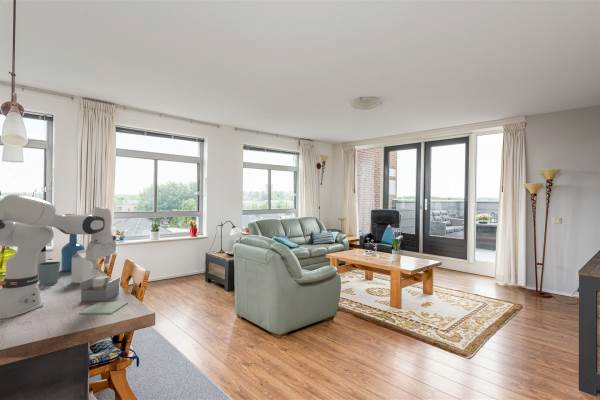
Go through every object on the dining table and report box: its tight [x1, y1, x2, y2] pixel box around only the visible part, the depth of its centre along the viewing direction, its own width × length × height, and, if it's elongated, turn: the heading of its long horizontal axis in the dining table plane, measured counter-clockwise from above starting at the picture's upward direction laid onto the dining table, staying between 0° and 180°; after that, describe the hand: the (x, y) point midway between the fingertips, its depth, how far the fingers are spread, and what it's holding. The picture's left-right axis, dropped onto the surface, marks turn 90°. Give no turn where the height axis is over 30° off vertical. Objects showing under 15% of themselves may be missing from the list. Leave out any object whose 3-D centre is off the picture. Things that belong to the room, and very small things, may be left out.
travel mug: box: [37, 245, 47, 280], centre depth 196 cm, size 6×7×20 cm
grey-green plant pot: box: [38, 261, 61, 287], centre depth 186 cm, size 10×10×12 cm
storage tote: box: [79, 276, 121, 302], centre depth 162 cm, size 12×13×9 cm
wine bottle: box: [60, 234, 85, 273], centre depth 219 cm, size 14×13×30 cm
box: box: [93, 276, 110, 291], centre depth 162 cm, size 5×5×10 cm
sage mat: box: [79, 301, 129, 315], centre depth 147 cm, size 14×14×1 cm
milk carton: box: [71, 248, 93, 284], centre depth 190 cm, size 7×7×19 cm
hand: (101, 265), depth 162 cm, fingers open, 8 cm apart
